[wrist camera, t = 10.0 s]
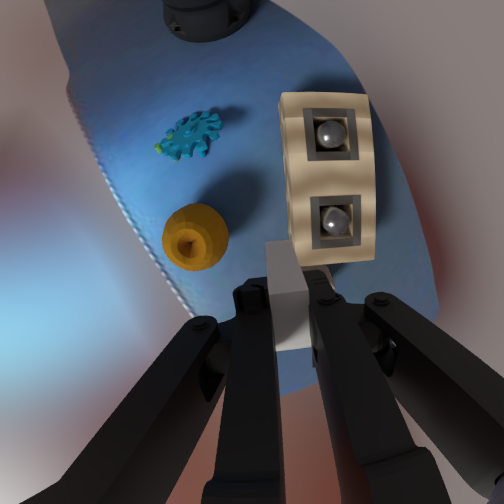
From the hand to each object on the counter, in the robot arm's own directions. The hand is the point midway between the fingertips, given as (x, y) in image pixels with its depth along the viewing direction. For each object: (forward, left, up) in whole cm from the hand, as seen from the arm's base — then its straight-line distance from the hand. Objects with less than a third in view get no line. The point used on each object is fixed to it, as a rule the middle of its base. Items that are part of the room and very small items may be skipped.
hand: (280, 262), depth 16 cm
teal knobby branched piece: (-12, -11, -29) cm, 33 cm away
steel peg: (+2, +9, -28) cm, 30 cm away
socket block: (-4, +9, -28) cm, 30 cm away
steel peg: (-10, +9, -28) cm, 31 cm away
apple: (+3, -11, -29) cm, 31 cm away
